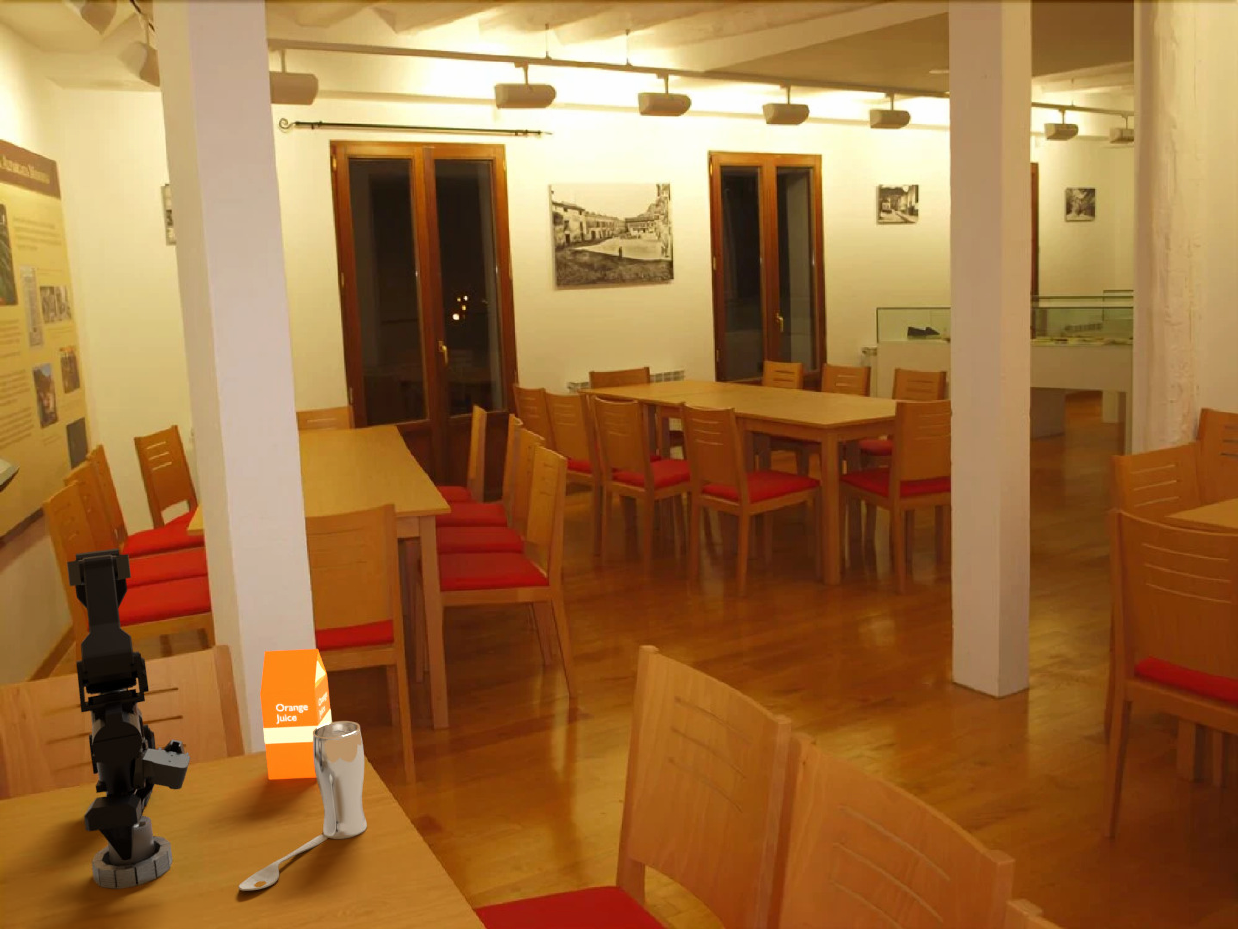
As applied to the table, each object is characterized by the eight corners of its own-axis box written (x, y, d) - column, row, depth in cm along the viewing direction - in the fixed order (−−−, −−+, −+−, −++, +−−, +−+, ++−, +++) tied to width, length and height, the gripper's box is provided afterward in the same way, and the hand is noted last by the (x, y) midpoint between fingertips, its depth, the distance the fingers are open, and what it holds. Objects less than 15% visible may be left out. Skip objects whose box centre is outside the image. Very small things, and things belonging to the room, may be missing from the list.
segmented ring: (103, 859, 160) (100, 842, 160) (176, 848, 162) (174, 831, 162) (87, 893, 151) (85, 875, 151) (165, 881, 153) (163, 863, 153)
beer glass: (357, 842, 161) (348, 739, 159) (311, 839, 163) (301, 738, 161) (377, 819, 168) (369, 721, 166) (333, 817, 170) (324, 719, 167)
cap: (114, 850, 159) (110, 815, 158) (157, 844, 160) (153, 809, 159) (106, 869, 153) (101, 834, 152) (150, 863, 154) (146, 827, 154)
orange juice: (323, 777, 184) (311, 656, 181) (267, 780, 184) (255, 659, 181) (335, 757, 192) (324, 641, 189) (282, 760, 192) (271, 643, 189)
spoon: (229, 898, 149) (228, 886, 149) (325, 826, 168) (324, 816, 167) (255, 903, 147) (254, 890, 147) (350, 830, 166) (349, 819, 166)
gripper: (171, 757, 147) (184, 873, 149) (191, 707, 165) (202, 811, 167) (76, 769, 144) (91, 886, 147) (107, 717, 162) (120, 822, 165)
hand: (131, 849), depth 156 cm, fingers closed on cap, 6 cm apart
